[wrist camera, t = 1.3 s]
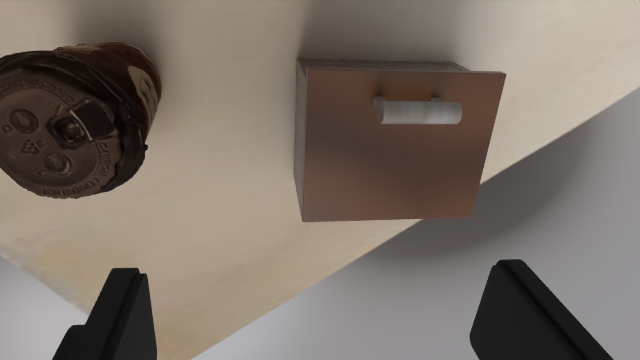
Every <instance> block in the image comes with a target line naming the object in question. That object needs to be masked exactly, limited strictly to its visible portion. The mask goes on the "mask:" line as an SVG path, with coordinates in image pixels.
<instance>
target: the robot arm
mask: <svg viewBox="0 0 640 360" xmlns="http://www.w3.org/2000/svg"><path fill="white" fill-rule="evenodd" d="M470 342H471V345H472V348H473V349H474V351H475V353H476V354H477V356H478V358H479V359H480V360H613V359H612V358H611V356H610V355H609V354H608V353H607V352H606V351H605V350H604V349H603V348H602V347H601V345H600V344H599V343H598V342H597V341H596V340H595V339H594V338H593V337H592V336H591V335H590V333H589V332H588V331H587V330H586V329H585V328H584V327H583V326H582V325H581V324H580V322H579V321H578V320H577V319H576V318H575V317H574V316H573V315H572V314H571V313H570V312H569V310H567V308H566V307H565V306H564V305H563V304H562V303H561V302H560V301H559V299H558V298H556V296H555V295H554V294H553V293H552V292H551V291H550V290H549V288H548V287H547V286H546V285H545V284H544V283H543V282H542V281H541V280H540V279H539V278H538V276H537V275H536V274H535V273H534V272H533V271H532V270H531V269H530V268H529V267H528V266H527V264H526V263H525V262H524V261H522V260H519V259H513V260H499V261H498V262H497V264H496V265H494V266H493V267H492V269H491V271H490V274H489V277H488V280H487V283H486V286H485V289H484V292H483V295H482V298H481V302H480V305H479V307H478V311H477V314H476V317H475V320H474V323H473V326H472V329H471V332H470ZM52 360H157V346H156V339H155V331H154V323H153V316H152V308H151V300H150V293H149V285H148V278H147V274H145V273H143V274H140V272H139V269H138V268H113V269H112V270H111V272H110V274H109V276H108V278H107V280H106V282H105V284H104V286H103V288H102V290H101V292H100V295H99V297H98V299H97V301H96V303H95V305H94V307H93V309H92V311H91V313H90V315H89V318H88V320H87V322H86V324H85V325H73V326H71V327H70V328H69V329H68V331H67V333H66V334H65V336H64V338H63V340H62V342H61V344H60V346H59V347H58V349H57V351H56V353H55V355H54V357H53V359H52Z"/></svg>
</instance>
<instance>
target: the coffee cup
mask: <svg viewBox="0 0 640 360" xmlns="http://www.w3.org/2000/svg"><path fill="white" fill-rule="evenodd" d="M160 98H161V83H160V78H159V75H158V73H157V71H156V69H155V66H154V64H153V62H152V61H151V60H150V59H149V58H148V57H147V56H146V55H145V54H144V52H143V51H142V50H141V49H140V48H139V47H137V46H134V45H130V44H126V43H124V42H123V41H111V40H107V41H104V42H99V43H97V44H95V45H93V46H89V45H85V44H79V45H77V46H66V47H58V48H57V49H54V50H53V51H28V52H21V53H14V54H12V55H6V56H4V57H2V58H0V168H1V169H2V170H3V171H4V172H5V173H6V174H8V175H9V176H10V177H11V178H12V179H13V180H14V181H15V182H16V183H17V184H18V185H20V186H22V187H23V188H25V189H27V190H28V191H31V192H33V193H35V194H37V195H39V196H47V197H52V198H62V199H66V198H75V199H77V198H80V197H84V196H90V195H95V194H98V193H102V192H108V191H111V190H113V189H114V188H116V187H118V186H120V185H122V184H124V183H125V182H127V181H128V180H129V179H131V178H132V177H133V176H134V175H135V174H136V172H137V171H138V170H139V168H140V166H142V164H143V160H144V159H145V151H146V150H147V149H148V145H145V141H146V139H147V136H148V133H149V131H150V128H151V126H152V122H153V120H154V118H155V114H156V112H157V105H158V103H159V101H160Z"/></svg>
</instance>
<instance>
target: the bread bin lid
mask: <svg viewBox="0 0 640 360" xmlns="http://www.w3.org/2000/svg"><path fill="white" fill-rule="evenodd" d="M505 78H506V74H505V73H503V72H496V71H454V70H411V69H369V68H327V67H307V72H306V100H305V128H304V157H303V185H302V213H301V217H302V222H328V221H361V220H395V219H429V218H459V217H460V218H461V217H471V216H472V212H473V207H474V204H475V200H476V196H477V192H478V188H479V184H480V180H481V175H482V171H483V167H484V163H485V159H486V155H487V151H488V147H489V143H490V139H491V135H492V131H493V127H494V123H495V119H496V115H497V110H498V106H499V102H500V98H501V94H502V90H503V86H504V82H505Z"/></svg>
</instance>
